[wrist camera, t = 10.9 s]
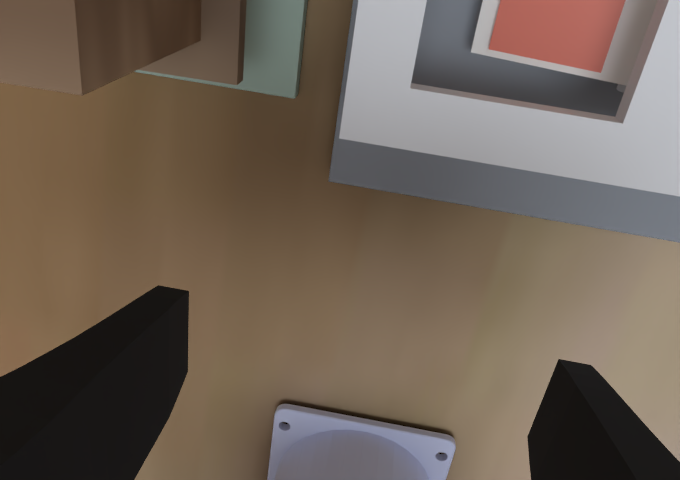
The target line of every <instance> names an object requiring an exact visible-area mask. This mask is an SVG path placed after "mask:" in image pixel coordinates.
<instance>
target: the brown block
mask: <svg viewBox="0 0 680 480" xmlns="http://www.w3.org/2000/svg"><path fill="white" fill-rule="evenodd" d="M246 4H247V0H0V83H7V84H13V85H19V86H26V87H32V88H38V89H44V90H51V91H57V92H63V93H70V94H76V95H84V94H87V93H89V92H91V91H93V90H95V89H97V88H100V87H102V86H104V85H106V84H108V83H110V82H112V81H115V80H117V79H119V78H121V77H123V76H125V75H128V74H130V73H132V72H134V71H136V70H142V71H148V72H155V73H161V74H168V75H174V76H180V77H187V78H193V79H200V80H206V81H213V82H219V83H225V84H232V85H238V84H239V83H240V82H242V81H243V70H244V48H245V26H246Z"/></svg>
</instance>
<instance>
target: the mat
mask: <svg viewBox="0 0 680 480" xmlns="http://www.w3.org/2000/svg"><path fill="white" fill-rule="evenodd" d="M307 3H308V0H247V4H246V26H245V48H244V70H243V81H242V82H240V83H239V84H238V85H232V84H225V83H219V82H213V81H206V80H200V79H193V78H187V77H180V76H174V75H168V74H161V73H155V72H148V71H142V70H136V71H134V72H139V73H145V74H151V75H157V76H163V77H169V78H175V79H181V80H187V81H193V82H199V83H205V84H211V85H217V86H223V87H229V88H234V89H240V90H246V91H252V92H258V93H264V94H270V95H276V96H282V97H288V98H294V99H295V98H296V96H297V95H298V90H299V81H300V71H301V61H302V51H303V42H304V32H305V22H306V12H307Z"/></svg>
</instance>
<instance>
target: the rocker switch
mask: <svg viewBox="0 0 680 480" xmlns="http://www.w3.org/2000/svg"><path fill="white" fill-rule="evenodd" d="M657 1H658V0H483V1H482V6H481V10H480V14H479V19H478V23H477V27H476V31H475V36H474V40H473V44H472V49H471V52H472V53H476V54H481V55H486V56H490V57H495V58H500V59H504V60H509V61H514V62H518V63H523V64H528V65H532V66H537V67H542V68H546V69H551V70H556V71H560V72H565V73H570V74H574V75H579V76H584V77H588V78H593V79H598V80H602V81H607V82H612V83H616V84H618V86H617V88H616V89H617V90H618V91H620V92H623V93H624V91H625V89H626V86H627V83H628V80H629V78H630V75H631V72H632V70H633V67H634V64H635V61H636V59H637V56H638V53H639V50H640V48H641V45H642V42H643V39H644V37H645V34H646V31H647V28H648V26H649V23H650V20H651V17H652V15H653V12H654V9H655V6H656V4H657Z"/></svg>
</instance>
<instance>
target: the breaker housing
mask: <svg viewBox="0 0 680 480" xmlns="http://www.w3.org/2000/svg"><path fill="white" fill-rule="evenodd" d="M482 1H483V0H353V6H352V13H351V20H350V28H349V35H348V42H347V50H346V57H345V64H344V72H343V79H342V86H341V93H340V101H339V108H338V115H337V123H336V130H335V137H334V145H333V152H332V159H331V167H330V174H329V182H335V183H341V184H347V185H352V186H358V187H364V188H370V189H375V190H381V191H387V192H393V193H398V194H404V195H410V196H416V197H421V198H427V199H433V200H439V201H444V202H450V203H456V204H461V205H467V206H473V207H479V208H484V209H490V210H496V211H502V212H507V213H513V214H519V215H525V216H530V217H536V218H542V219H548V220H553V221H559V222H565V223H571V224H576V225H582V226H588V227H594V228H599V229H605V230H611V231H617V232H622V233H628V234H634V235H640V236H645V237H651V238H657V239H663V240H668V241H674V242H680V0H658V1H657V4H656V6H655V9H654V12H653V15H652V17H651V20H650V23H649V26H648V28H647V31H646V34H645V37H644V39H643V42H642V45H641V48H640V50H639V53H638V56H637V59H636V61H635V64H634V67H633V70H632V72H631V75H630V78H629V80H628V83H627V86H626V89H625V91H624V93H623V92H620V91H618V90H617V89H616V88H617V86H618V84H616V83H612V82H607V81H602V80H598V79H593V78H588V77H584V76H579V75H574V74H570V73H565V72H560V71H556V70H551V69H546V68H542V67H537V66H532V65H528V64H523V63H518V62H514V61H509V60H504V59H500V58H495V57H490V56H486V55H481V54H476V53H472V52H471V49H472V44H473V40H474V36H475V31H476V27H477V23H478V19H479V14H480V10H481V6H482Z"/></svg>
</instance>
